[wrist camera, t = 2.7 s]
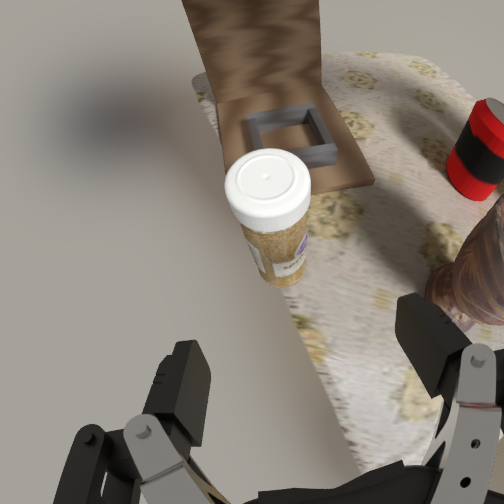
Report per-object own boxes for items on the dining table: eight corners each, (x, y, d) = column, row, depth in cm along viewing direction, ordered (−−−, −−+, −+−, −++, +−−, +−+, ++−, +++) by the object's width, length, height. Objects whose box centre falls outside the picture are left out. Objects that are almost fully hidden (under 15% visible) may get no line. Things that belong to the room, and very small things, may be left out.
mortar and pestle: (384, 266, 24) (494, 96, 6) (434, 222, 24) (523, 77, 6) (447, 357, 19) (620, 313, 1) (491, 302, 20) (622, 218, 2)
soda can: (487, 212, 24) (536, 155, 13) (442, 184, 26) (481, 114, 15) (488, 173, 25) (524, 116, 14) (446, 148, 28) (475, 83, 17)
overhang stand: (317, 84, 36) (306, -62, 12) (373, 184, 27) (418, -50, 4) (217, 101, 37) (168, -42, 14) (232, 211, 29) (124, -35, 5)
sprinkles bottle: (302, 291, 24) (306, 220, 12) (254, 284, 25) (211, 211, 13) (308, 245, 26) (313, 147, 14) (262, 240, 27) (233, 143, 15)
